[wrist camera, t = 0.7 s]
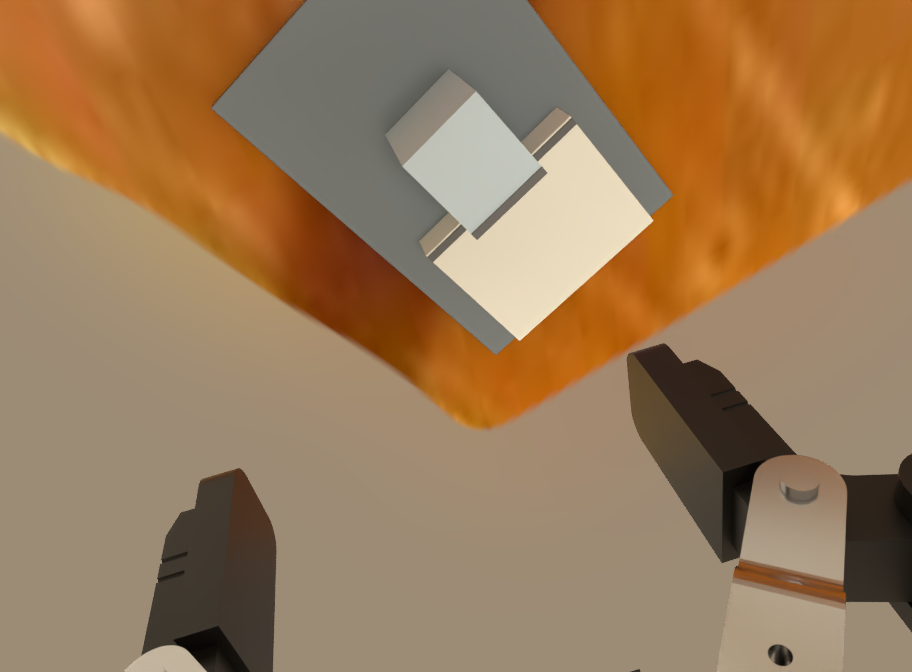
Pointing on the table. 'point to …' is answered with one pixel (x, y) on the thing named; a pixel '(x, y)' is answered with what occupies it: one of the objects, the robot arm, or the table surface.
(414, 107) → the stub
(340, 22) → the pad
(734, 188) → the table surface
